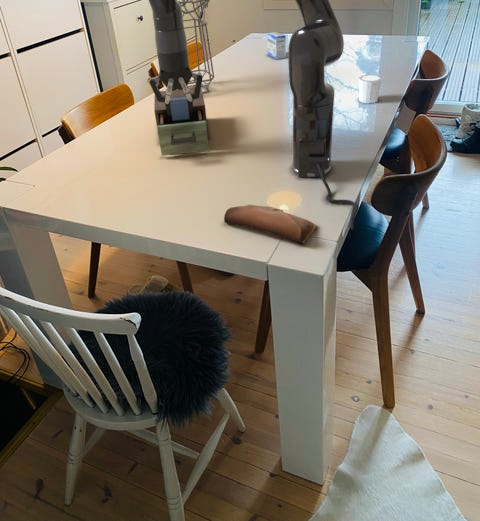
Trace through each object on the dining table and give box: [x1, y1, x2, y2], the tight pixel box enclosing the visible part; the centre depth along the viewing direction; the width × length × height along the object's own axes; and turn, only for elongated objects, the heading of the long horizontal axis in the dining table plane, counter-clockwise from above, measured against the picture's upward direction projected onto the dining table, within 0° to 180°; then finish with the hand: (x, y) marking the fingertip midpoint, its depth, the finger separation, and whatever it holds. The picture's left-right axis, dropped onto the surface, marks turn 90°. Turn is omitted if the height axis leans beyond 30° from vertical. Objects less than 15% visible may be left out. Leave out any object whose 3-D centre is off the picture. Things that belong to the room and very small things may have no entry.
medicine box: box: [266, 31, 287, 60], centre depth 203 cm, size 8×4×9 cm, turn 25°
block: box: [170, 97, 189, 121], centre depth 133 cm, size 4×4×4 cm
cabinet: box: [153, 87, 209, 138], centre depth 146 cm, size 16×14×10 cm
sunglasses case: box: [223, 204, 317, 244], centre depth 104 cm, size 18×7×7 cm
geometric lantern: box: [178, 0, 215, 94], centre depth 167 cm, size 16×16×35 cm
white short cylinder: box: [358, 74, 382, 104], centre depth 158 cm, size 7×7×7 cm
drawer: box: [156, 109, 210, 157], centre depth 136 cm, size 19×13×8 cm, turn 7°
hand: (180, 115), depth 134 cm, fingers closed on block, 4 cm apart
